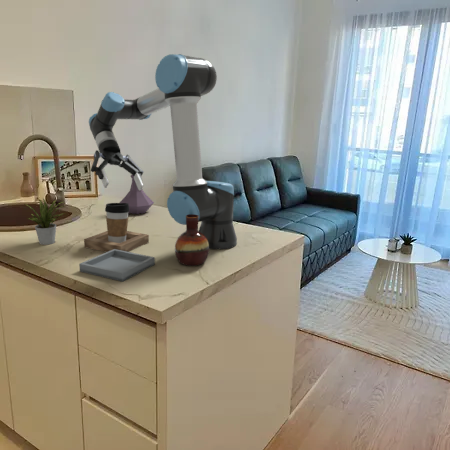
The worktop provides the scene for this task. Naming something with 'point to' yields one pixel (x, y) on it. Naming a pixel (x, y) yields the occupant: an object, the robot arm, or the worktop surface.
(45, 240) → the house plant
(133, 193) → the flask
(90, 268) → the tray
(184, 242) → the vase
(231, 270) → the worktop surface
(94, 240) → the square wooden frame
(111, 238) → the coffee cup
